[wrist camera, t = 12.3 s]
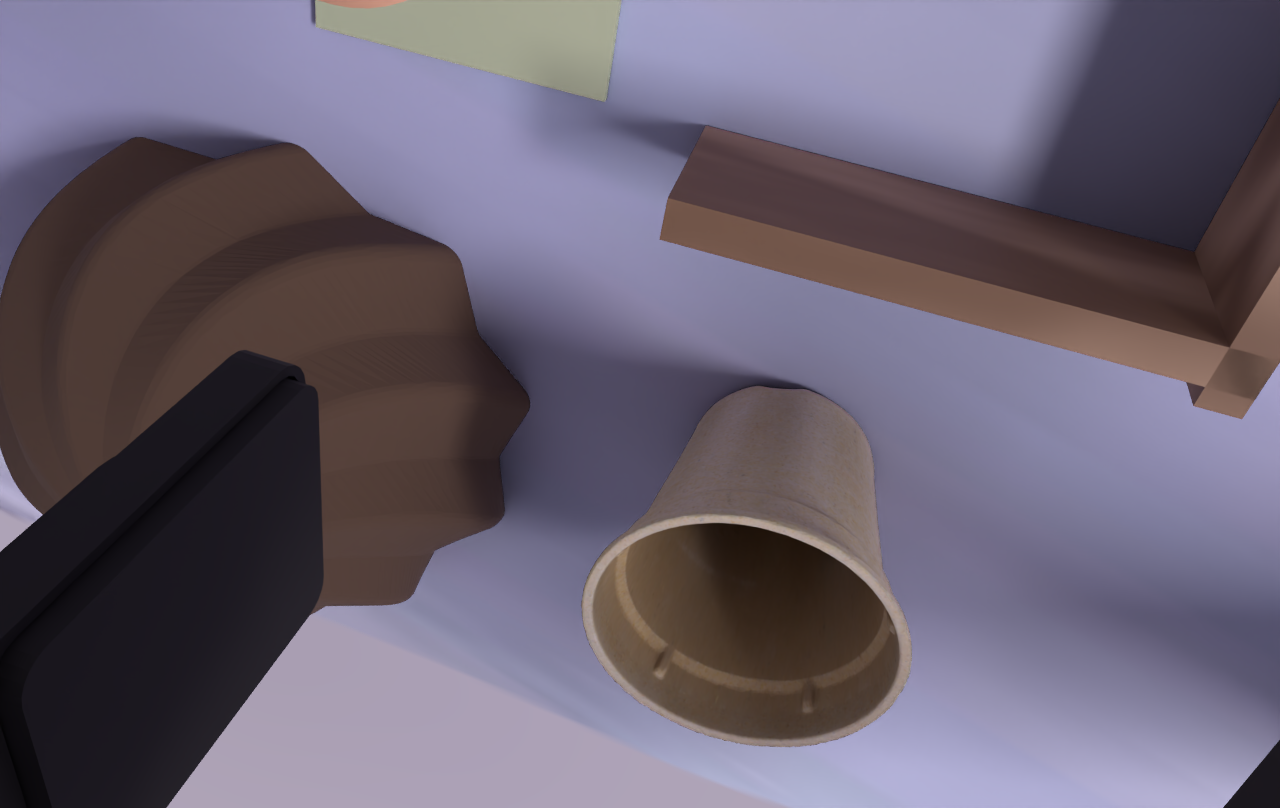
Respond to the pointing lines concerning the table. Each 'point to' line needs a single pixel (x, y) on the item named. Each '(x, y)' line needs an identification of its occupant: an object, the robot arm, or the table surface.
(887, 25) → the table surface
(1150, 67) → the table surface
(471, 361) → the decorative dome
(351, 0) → the seedling pot
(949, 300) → the brown wooden corner frame
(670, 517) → the flower pot
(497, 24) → the green mat
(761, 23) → the table surface
